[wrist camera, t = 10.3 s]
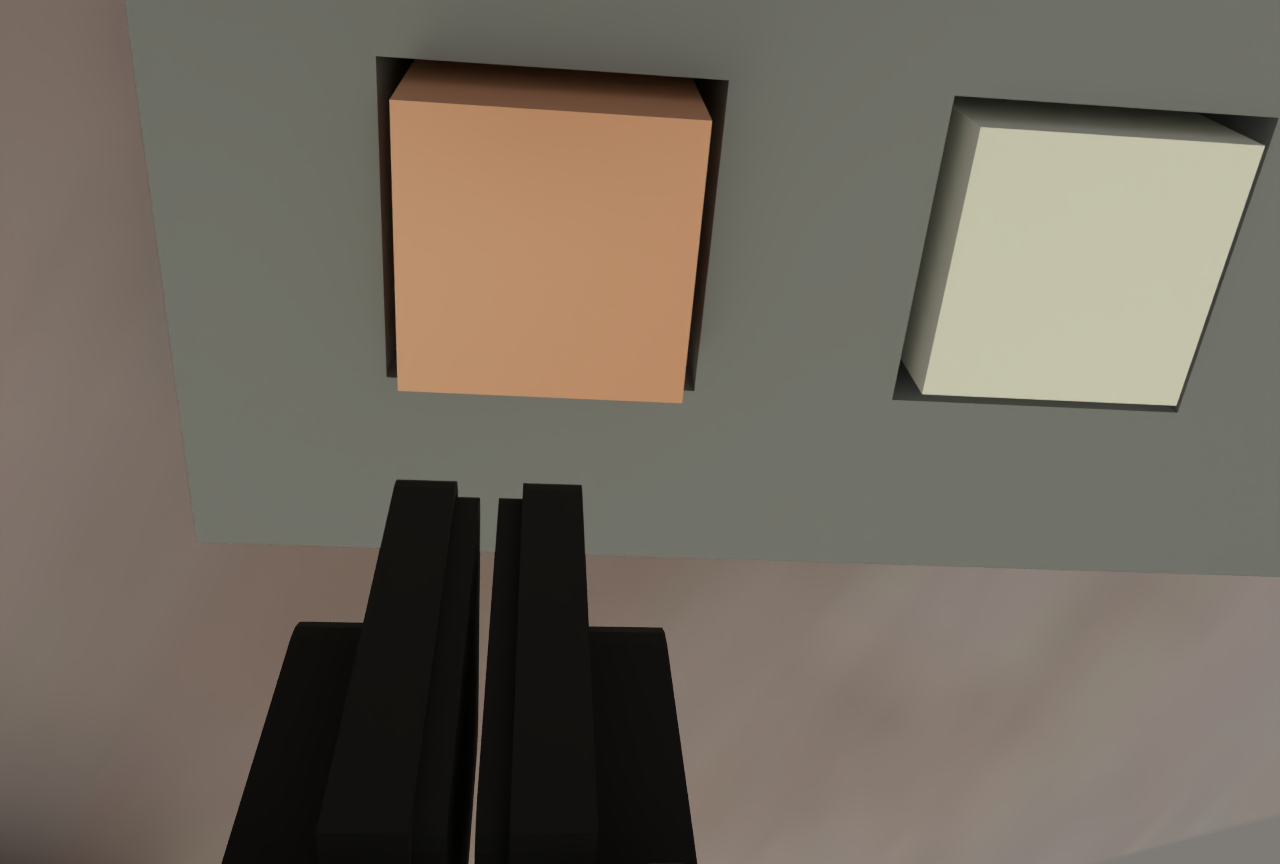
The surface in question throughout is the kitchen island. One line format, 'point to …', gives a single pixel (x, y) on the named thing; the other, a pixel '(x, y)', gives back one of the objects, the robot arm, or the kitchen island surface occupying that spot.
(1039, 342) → the cream cube block
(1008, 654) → the kitchen island surface
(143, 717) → the kitchen island surface
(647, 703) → the robot arm
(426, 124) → the terracotta brown block
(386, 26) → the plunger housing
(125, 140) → the kitchen island surface
